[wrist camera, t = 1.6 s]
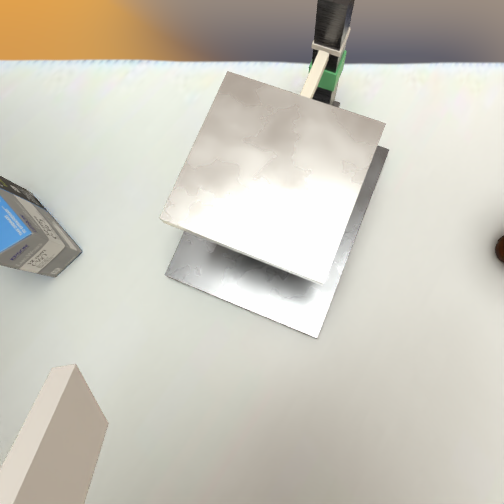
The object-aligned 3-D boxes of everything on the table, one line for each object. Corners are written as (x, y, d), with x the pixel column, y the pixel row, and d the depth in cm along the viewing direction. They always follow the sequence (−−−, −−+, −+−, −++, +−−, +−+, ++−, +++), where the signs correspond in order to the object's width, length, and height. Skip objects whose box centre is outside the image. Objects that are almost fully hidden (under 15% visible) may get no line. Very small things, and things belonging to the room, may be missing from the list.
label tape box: (84, 252, 43) (5, 217, 31) (52, 281, 42) (-40, 256, 30) (32, 191, 44) (-62, 135, 32) (1, 218, 44) (-106, 171, 32)
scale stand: (167, 276, 41) (96, 235, 26) (256, 80, 45) (240, -60, 29) (316, 338, 39) (336, 334, 24) (397, 127, 43) (461, 2, 27)
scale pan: (181, 240, 36) (158, 218, 30) (254, 79, 39) (248, 26, 33) (316, 294, 35) (323, 283, 28) (383, 121, 37) (404, 74, 31)
